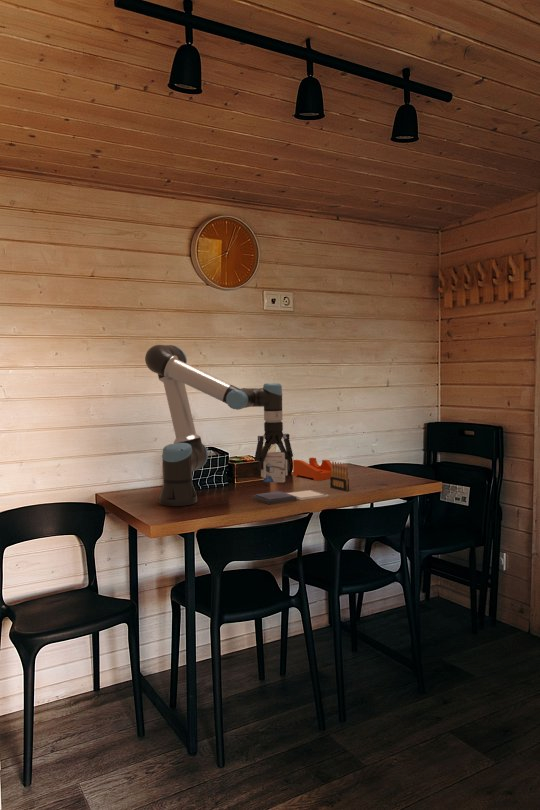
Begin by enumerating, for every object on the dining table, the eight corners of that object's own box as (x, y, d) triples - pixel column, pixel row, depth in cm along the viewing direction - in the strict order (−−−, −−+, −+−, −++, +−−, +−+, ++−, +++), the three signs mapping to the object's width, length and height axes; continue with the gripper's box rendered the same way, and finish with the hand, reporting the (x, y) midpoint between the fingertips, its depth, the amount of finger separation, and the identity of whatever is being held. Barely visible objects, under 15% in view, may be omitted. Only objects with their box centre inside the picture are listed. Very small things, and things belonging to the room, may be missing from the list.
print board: (300, 500, 257) (300, 498, 257) (282, 494, 269) (282, 492, 269) (328, 496, 264) (328, 494, 264) (309, 490, 276) (309, 489, 276)
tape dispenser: (293, 476, 314) (293, 460, 314) (312, 473, 322) (312, 457, 321) (317, 481, 300) (317, 464, 299) (337, 478, 307) (336, 461, 307)
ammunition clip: (330, 487, 283) (329, 461, 282) (333, 487, 284) (333, 460, 283) (346, 491, 274) (345, 463, 273) (349, 490, 275) (349, 463, 274)
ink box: (263, 482, 256) (262, 453, 256) (264, 480, 261) (264, 451, 261) (284, 482, 255) (284, 453, 255) (285, 480, 260) (285, 451, 260)
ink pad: (268, 504, 250) (268, 499, 250) (252, 498, 261) (252, 494, 261) (296, 500, 256) (296, 496, 256) (279, 495, 268) (279, 490, 268)
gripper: (253, 423, 248) (255, 480, 249) (301, 420, 259) (302, 474, 260) (244, 422, 255) (246, 477, 256) (291, 419, 266) (292, 472, 267)
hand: (274, 476), depth 258 cm, fingers closed on ink box, 9 cm apart
